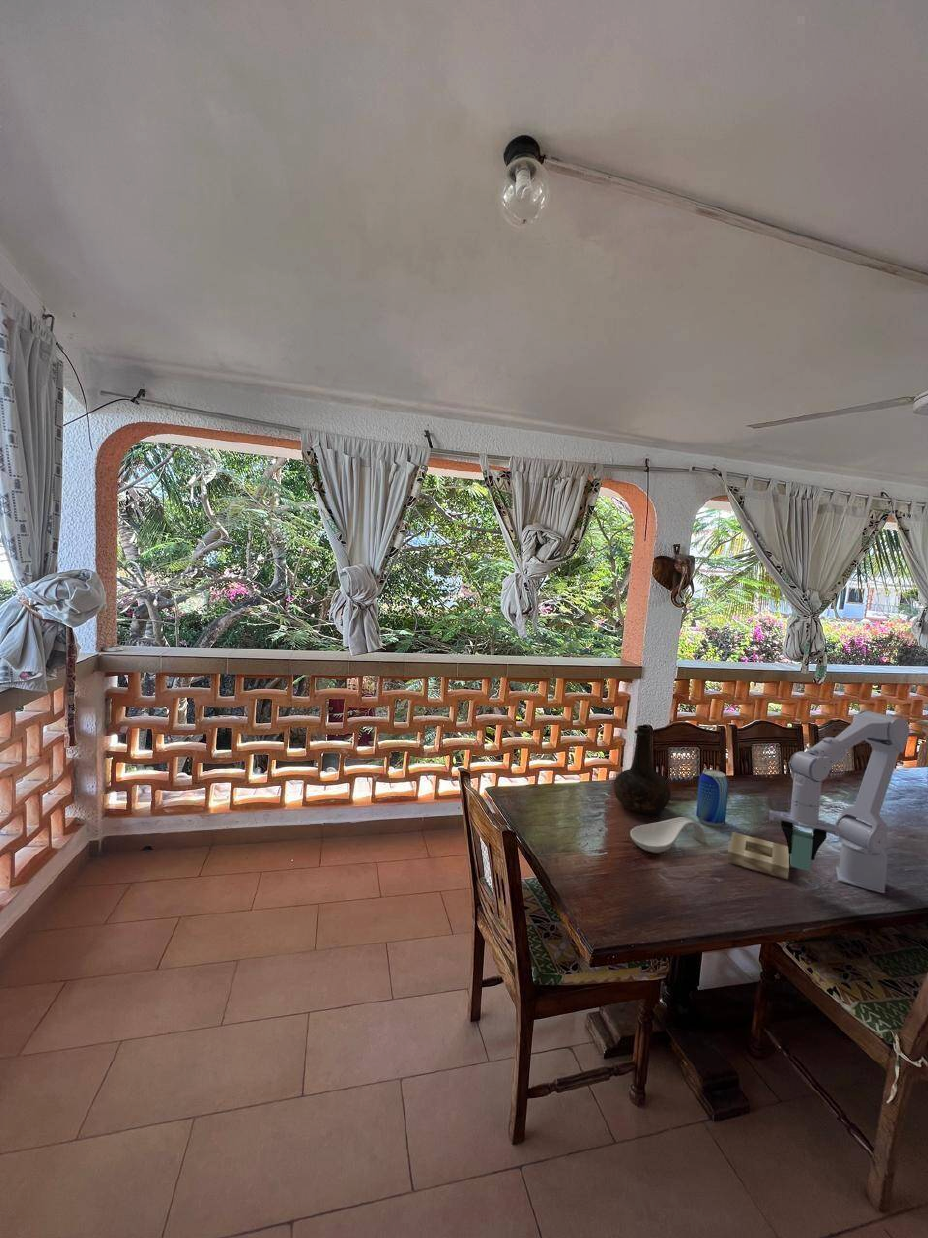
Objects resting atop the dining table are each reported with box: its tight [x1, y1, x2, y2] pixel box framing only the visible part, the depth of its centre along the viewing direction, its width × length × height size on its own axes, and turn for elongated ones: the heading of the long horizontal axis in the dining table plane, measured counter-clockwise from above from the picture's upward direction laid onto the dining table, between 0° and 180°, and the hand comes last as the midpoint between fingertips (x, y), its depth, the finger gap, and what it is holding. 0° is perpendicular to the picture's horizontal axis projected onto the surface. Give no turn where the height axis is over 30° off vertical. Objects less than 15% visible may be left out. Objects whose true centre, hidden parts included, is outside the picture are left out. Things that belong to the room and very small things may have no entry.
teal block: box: [789, 828, 813, 872], centre depth 127 cm, size 4×4×8 cm
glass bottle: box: [613, 724, 671, 815], centre depth 171 cm, size 18×18×28 cm
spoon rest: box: [630, 816, 707, 854], centre depth 147 cm, size 24×12×7 cm, turn 111°
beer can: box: [695, 768, 729, 828], centre depth 164 cm, size 8×8×16 cm
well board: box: [726, 831, 790, 880], centre depth 141 cm, size 14×14×3 cm
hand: (800, 855), depth 127 cm, fingers closed on teal block, 4 cm apart
